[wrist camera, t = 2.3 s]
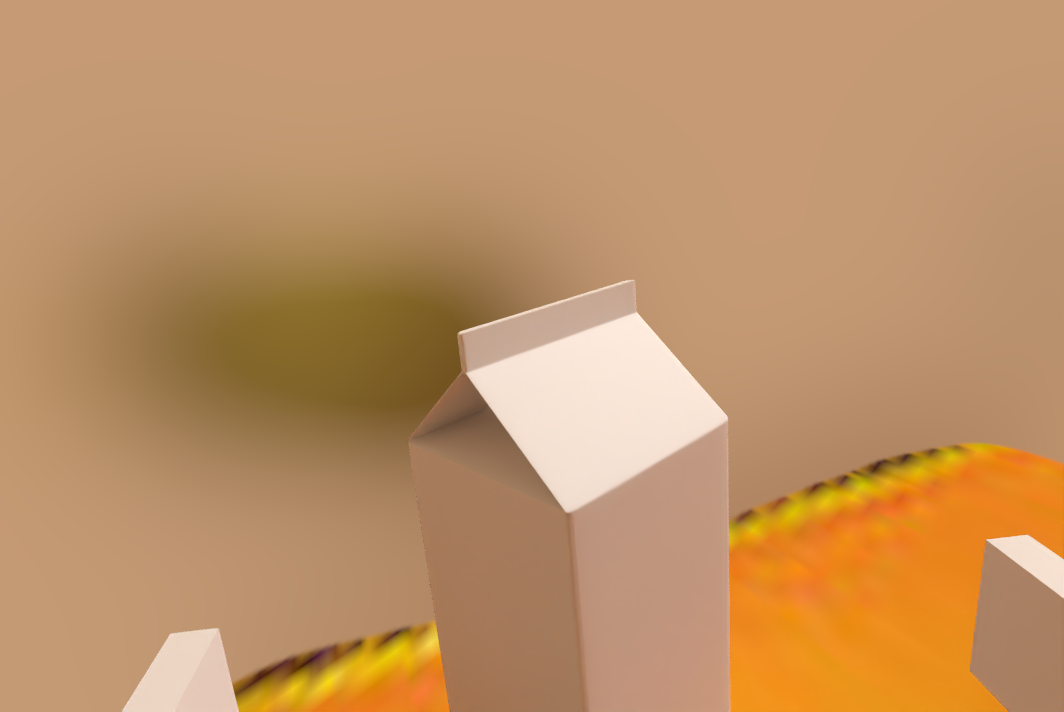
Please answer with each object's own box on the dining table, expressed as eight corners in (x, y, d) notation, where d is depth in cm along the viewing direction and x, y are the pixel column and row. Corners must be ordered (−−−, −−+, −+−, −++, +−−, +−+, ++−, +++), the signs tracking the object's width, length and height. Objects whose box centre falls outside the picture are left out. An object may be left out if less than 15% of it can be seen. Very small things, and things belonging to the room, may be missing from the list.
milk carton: (733, 794, 26) (729, 289, 20) (604, 948, 21) (554, 355, 16) (590, 696, 31) (555, 271, 25) (462, 805, 26) (385, 317, 21)
